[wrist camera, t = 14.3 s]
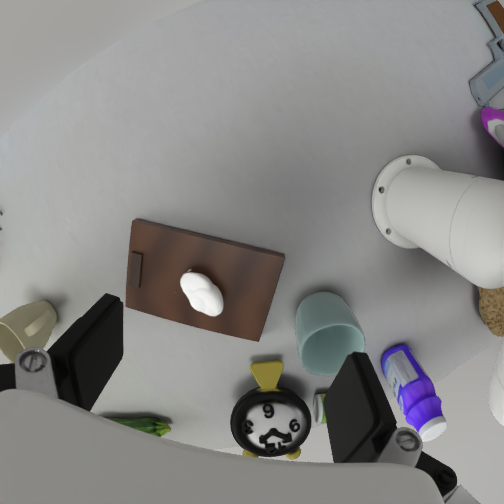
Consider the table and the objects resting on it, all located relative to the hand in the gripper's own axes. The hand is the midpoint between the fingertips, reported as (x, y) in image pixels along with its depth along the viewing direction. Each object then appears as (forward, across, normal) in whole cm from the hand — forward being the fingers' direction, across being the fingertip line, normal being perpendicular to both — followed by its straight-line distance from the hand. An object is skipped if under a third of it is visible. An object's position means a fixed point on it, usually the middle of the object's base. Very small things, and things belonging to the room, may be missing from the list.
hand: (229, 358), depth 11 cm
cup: (+26, -12, +10) cm, 31 cm away
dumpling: (+25, +4, +10) cm, 27 cm away
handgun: (+25, -24, -45) cm, 57 cm away
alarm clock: (+26, -10, +28) cm, 39 cm away
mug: (+26, +32, +24) cm, 48 cm away
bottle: (+26, -29, +17) cm, 42 cm away
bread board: (+26, +5, +10) cm, 29 cm away
